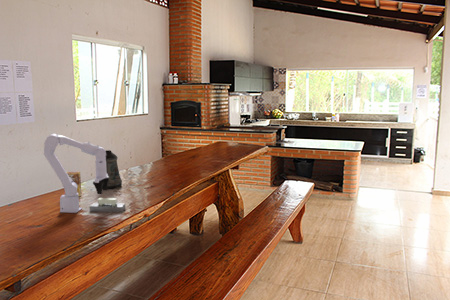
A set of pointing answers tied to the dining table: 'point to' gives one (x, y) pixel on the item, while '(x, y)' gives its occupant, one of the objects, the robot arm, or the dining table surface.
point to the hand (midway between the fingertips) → (102, 192)
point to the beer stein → (112, 171)
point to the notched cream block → (107, 201)
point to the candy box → (76, 180)
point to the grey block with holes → (107, 207)
